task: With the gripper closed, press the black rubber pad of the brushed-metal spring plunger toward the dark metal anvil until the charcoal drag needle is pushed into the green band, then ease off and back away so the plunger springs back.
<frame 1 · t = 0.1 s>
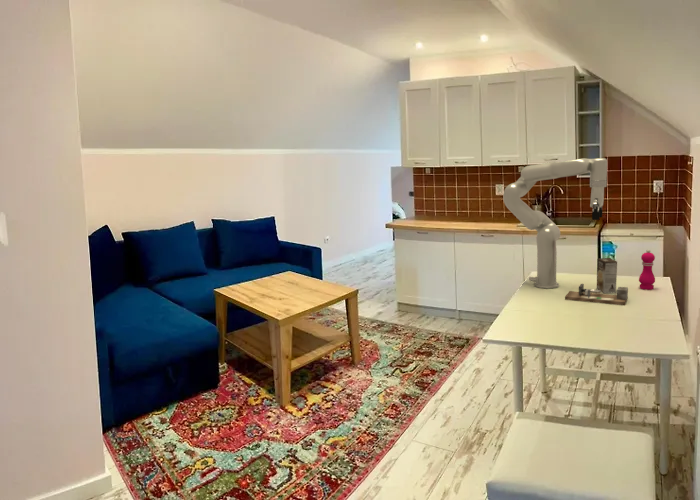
hand: (597, 218, 271), 37 cm above the table, tool pointing down, fingers open, 9 cm apart
drag needle: (588, 293, 259), point 4 cm above the table, slide at 0.0 cm
plunger: (589, 290, 263), point 4 cm above the table, slide at 0.0 cm
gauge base: (596, 299, 261), on the table
pepper mill: (646, 288, 275), on the table
coffee box: (606, 291, 275), on the table
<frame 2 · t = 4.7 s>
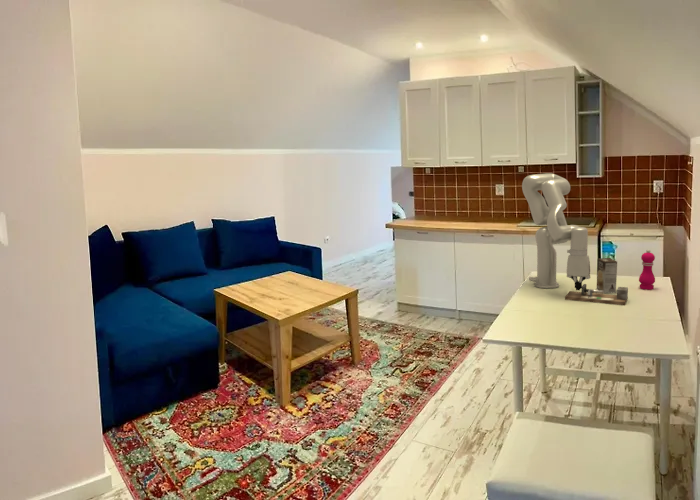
hand: (578, 289, 266), 4 cm above the table, tool pointing down, fingers closed
drag needle: (590, 293, 258), point 4 cm above the table, slide at 0.9 cm, touching plunger
plunger: (592, 290, 262), point 4 cm above the table, slide at 1.2 cm, touching drag needle, gripper
everything else where it was.
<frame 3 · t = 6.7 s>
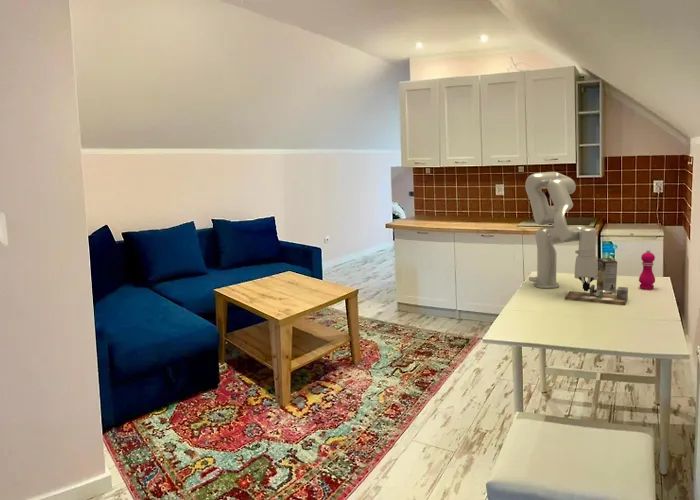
hand: (586, 290, 264), 4 cm above the table, tool pointing down, fingers closed
drag needle: (601, 294, 256), point 4 cm above the table, slide at 5.4 cm
plunger: (600, 291, 260), point 4 cm above the table, slide at 4.9 cm, touching gripper
everything else where it was.
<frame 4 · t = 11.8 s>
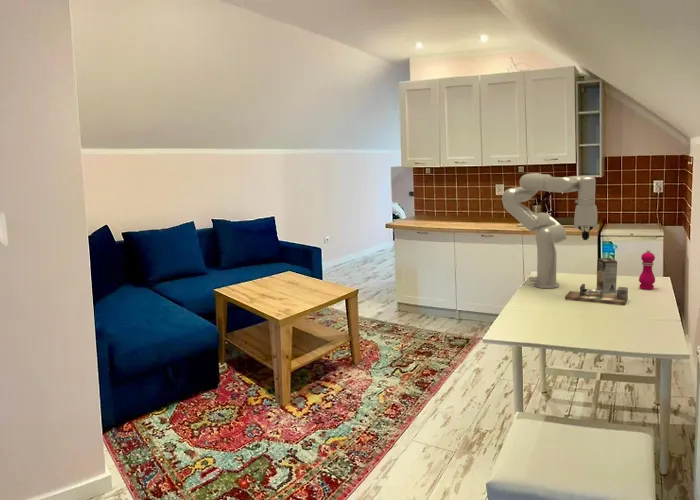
hand: (585, 239, 268), 27 cm above the table, tool pointing down, fingers closed
plunger: (591, 290, 262), point 4 cm above the table, slide at 0.5 cm
everything else where it was.
at the end: drag needle slide at 5.4 cm; plunger slide at 0.5 cm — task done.
